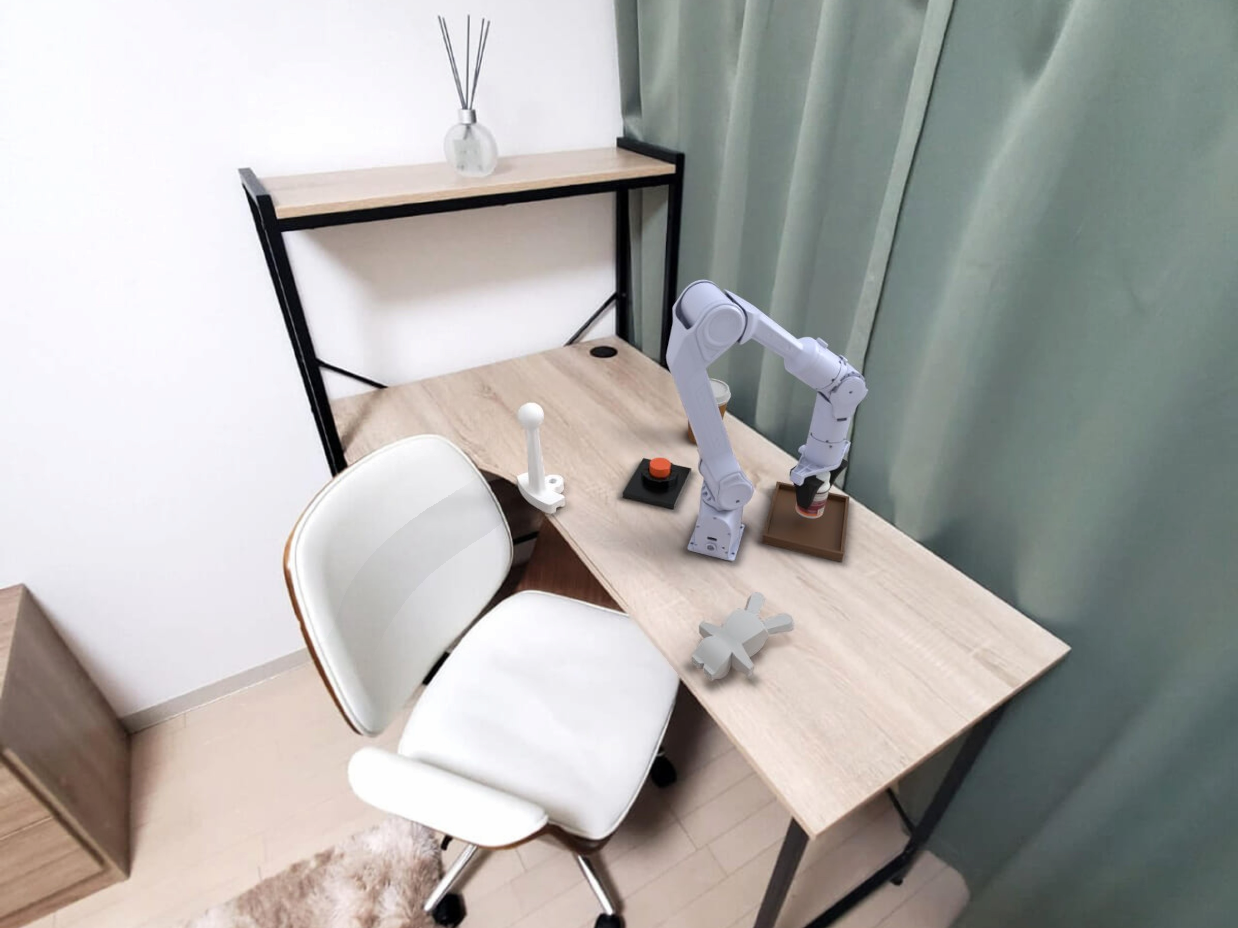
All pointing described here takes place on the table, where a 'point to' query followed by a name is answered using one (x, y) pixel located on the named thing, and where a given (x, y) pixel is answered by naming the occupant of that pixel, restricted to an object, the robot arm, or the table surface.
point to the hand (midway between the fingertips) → (811, 499)
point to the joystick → (538, 465)
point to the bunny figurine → (737, 639)
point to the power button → (660, 467)
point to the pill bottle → (817, 498)
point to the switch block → (657, 485)
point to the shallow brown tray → (807, 525)
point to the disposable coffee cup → (721, 397)
